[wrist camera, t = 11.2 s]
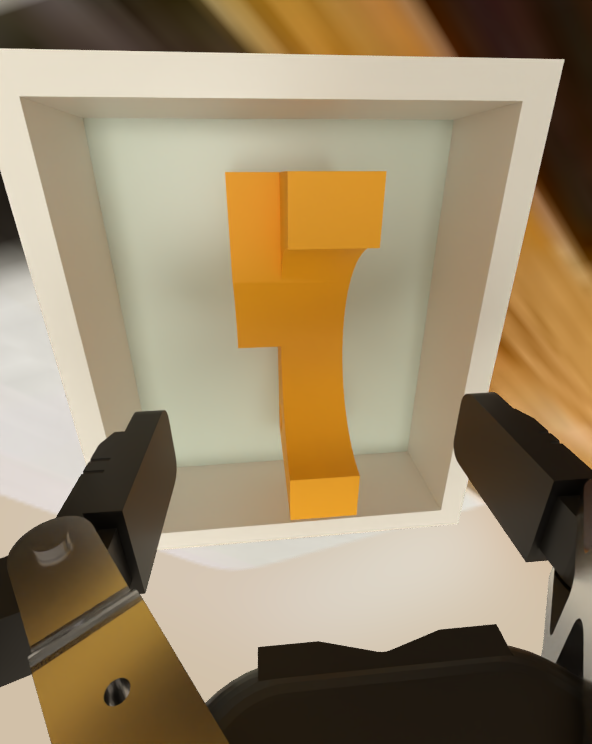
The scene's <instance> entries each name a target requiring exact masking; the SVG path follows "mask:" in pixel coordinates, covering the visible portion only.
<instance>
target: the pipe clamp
mask: <svg viewBox="0 0 592 744" xmlns="http://www.w3.org/2000/svg"><path fill="white" fill-rule="evenodd" d="M386 172H387V171H284V172H225V180H226V195H227V209H228V224H229V238H230V253H231V267H232V282H233V291H234V301H235V311H236V324H237V338H238V348H258V347H278V376H279V422H280V435H281V443H282V452H283V460H284V469H285V478H286V486H287V495H288V503H289V512H290V520H299V519H312V518H325V517H338V516H351V515H357V504H358V493H359V481H360V474H359V471H358V469H357V465H356V462H355V458H354V454H353V450H352V446H351V441H350V436H349V430H348V424H347V417H346V409H345V400H344V388H343V365H342V347H343V326H344V315H345V307H346V300H347V294H348V289H349V285H350V281H351V277H352V274H353V271H354V268H355V266H356V263H357V261H358V259H359V258H360V256H361V255H362V253H363V252H364V251H365V250H366V249H367V248H380V241H381V229H382V218H383V207H384V195H385V184H386Z"/></svg>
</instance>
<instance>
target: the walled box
mask: <svg viewBox="0 0 592 744" xmlns="http://www.w3.org/2000/svg"><path fill="white" fill-rule="evenodd" d="M563 63H564V59H518V58H466V57H413V56H361V55H309V54H257V53H204V52H152V51H100V50H47V49H0V171H1V174H2V178H3V181H4V185H5V188H6V192H7V195H8V198H9V202H10V205H11V209H12V212H13V216H14V219H15V222H16V226H17V229H18V233H19V236H20V240H21V243H22V246H23V250H24V253H25V257H26V260H27V264H28V267H29V270H30V274H31V277H32V281H33V284H34V288H35V291H36V294H37V298H38V301H39V305H40V308H41V312H42V315H43V318H44V322H45V325H46V329H47V332H48V336H49V339H50V342H51V346H52V349H53V353H54V356H55V360H56V363H57V366H58V370H59V373H60V377H61V380H62V384H63V387H64V390H65V394H66V397H67V401H68V404H69V408H70V411H71V414H72V418H73V421H74V425H75V428H76V432H77V435H78V438H79V442H80V445H81V449H82V452H83V456H84V459H85V462H86V466H87V464H88V462H90V459H91V457H92V455H93V454H94V452H95V450H96V449H97V447H98V445H99V444H100V443H101V442H103V441H104V440H105V439H106V438H108V437H109V436H110V435H111V434H112V433H114V432H121V431H125V430H126V428H127V426H128V424H129V422H130V420H131V418H132V416H133V414H134V413H135V412H138V411H156V410H165V411H166V412H167V414H168V417H169V422H170V428H171V433H172V439H173V444H174V450H175V455H176V463H177V473H176V481H175V485H174V488H173V492H172V496H171V500H170V503H169V507H168V511H167V514H166V518H165V522H164V526H163V529H162V533H161V537H160V540H159V544H158V548H157V550H166V549H178V548H190V547H201V546H213V545H224V544H236V543H247V542H259V541H271V540H282V539H294V538H305V537H317V536H328V535H340V534H351V533H363V532H375V531H386V530H398V529H408V528H420V527H432V526H444V525H455V524H458V522H459V517H460V513H461V509H462V504H463V500H464V496H465V491H466V487H467V483H468V477H467V475H466V474H465V473H464V471H463V470H462V468H461V467H460V465H459V464H458V462H457V460H456V457H455V454H454V446H453V443H454V436H455V431H456V425H457V420H458V415H459V410H460V404H461V400H462V398H463V396H464V395H465V394H470V393H488V391H489V387H490V382H491V378H492V373H493V369H494V365H495V360H496V356H497V352H498V347H499V343H500V339H501V334H502V330H503V325H504V321H505V317H506V312H507V308H508V304H509V299H510V295H511V291H512V286H513V282H514V277H515V273H516V269H517V264H518V260H519V256H520V251H521V247H522V242H523V238H524V234H525V229H526V225H527V221H528V216H529V212H530V208H531V203H532V199H533V194H534V190H535V186H536V181H537V177H538V173H539V168H540V164H541V160H542V155H543V151H544V146H545V142H546V138H547V133H548V129H549V125H550V120H551V116H552V112H553V107H554V103H555V98H556V94H557V90H558V85H559V81H560V77H561V72H562V68H563ZM284 171H387V172H386V184H385V195H384V207H383V218H382V229H381V241H380V248H367V249H366V250H365V251H364V252H363V253H362V255H361V256H360V258H359V259H358V261H357V263H356V266H355V268H354V271H353V274H352V277H351V281H350V285H349V289H348V294H347V300H346V307H345V315H344V326H343V347H342V365H343V388H344V400H345V409H346V417H347V424H348V430H349V436H350V441H351V446H352V450H353V454H354V458H355V462H356V465H357V469H358V471H359V474H360V481H359V493H358V504H357V515H351V516H338V517H325V518H312V519H299V520H290V512H289V503H288V495H287V486H286V478H285V469H284V460H283V452H282V443H281V435H280V422H279V376H278V347H258V348H238V338H237V324H236V311H235V301H234V291H233V282H232V267H231V253H230V238H229V224H228V209H227V195H226V180H225V172H284Z"/></svg>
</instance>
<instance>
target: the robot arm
mask: <svg viewBox="0 0 592 744" xmlns="http://www.w3.org/2000/svg"><path fill="white" fill-rule="evenodd" d="M453 446H454V454H455V457H456V460H457V462H458V464H459V465H460V467H461V468H462V470H463V471H464V473H465V474H466V475H467V477H468V478H469V480H470V481H471V483H472V484H473V486H474V487H475V489H476V490H477V491H478V493H479V494H480V496H481V497H482V499H483V500H484V502H485V503H486V505H487V506H488V507H489V509H490V510H491V512H492V513H493V515H494V516H495V517H496V519H497V520H498V522H499V523H500V525H501V526H502V528H503V529H504V531H505V532H506V534H507V535H508V536H509V538H510V539H511V541H512V542H513V544H514V545H515V547H516V548H517V550H518V551H519V552H520V554H521V555H522V557H523V558H524V560H525V561H526V562H534V561H546V560H548V561H549V562H550V563H551V565H552V566H553V568H552V571H551V573H550V576H549V584H548V595H547V606H546V618H545V630H544V640H543V650H542V655H541V656H539V655H536V654H534V653H531V652H529V651H526V650H522V649H519V648H515V647H512V646H507V644H506V642H505V640H504V638H503V636H502V634H501V632H500V631H499V628H498V627H497V625H496V624H494V625H483V626H473V627H463V628H452V629H443V630H438V631H435V632H433V633H430V634H428V635H426V636H423V637H421V638H419V639H416V640H414V641H412V642H409V643H407V644H404V645H402V646H400V647H397V648H395V649H393V650H390V651H387V652H376V651H370V650H364V649H359V648H353V647H347V646H341V645H336V644H330V643H324V642H319V641H318V642H307V643H297V644H286V645H276V646H265V647H258V668H257V669H255V670H252V671H250V672H248V673H245V674H244V675H242V676H240V677H238V678H237V679H235V680H233V681H231V682H230V683H229V684H228V685H226V686H225V687H223V688H222V689H220V690H219V691H218V692H217V693H216V694H215V695H213V696H212V697H211V698H210V699H209V700H208V701H207V702H206V703H205V702H204V701H203V699H202V697H201V696H200V694H199V692H198V691H197V689H196V687H195V685H194V684H193V682H192V680H191V679H190V677H189V675H188V674H187V672H186V670H185V669H184V667H183V665H182V664H181V662H180V660H179V659H178V657H177V656H176V654H175V652H174V650H173V649H172V647H171V645H170V644H169V642H168V640H167V638H166V637H165V635H164V634H163V632H162V630H161V628H160V627H159V625H158V624H157V622H156V620H155V618H154V617H153V615H152V613H151V612H150V610H149V608H148V607H147V605H146V603H145V602H144V600H143V598H142V597H141V595H140V594H144V593H145V592H146V589H147V585H148V581H149V578H150V574H151V570H152V566H153V563H154V559H155V555H156V552H157V548H158V544H159V540H160V537H161V533H162V529H163V526H164V522H165V518H166V514H167V511H168V507H169V503H170V500H171V496H172V492H173V488H174V485H175V481H176V473H177V463H176V455H175V450H174V444H173V439H172V433H171V428H170V422H169V417H168V414H167V412H166V411H165V410H156V411H138V412H135V413H134V414H133V416H132V418H131V420H130V422H129V424H128V426H127V428H126V430H125V431H121V432H114V433H112V434H111V435H110V436H109V437H108V438H106V439H105V440H104V441H103V442H101V443H100V444H99V445H98V447H97V449H96V450H95V452H94V454H93V455H92V457H91V459H90V462H88V464H87V466H86V467H85V469H84V471H83V474H81V476H80V477H79V479H78V481H77V483H76V484H75V486H74V488H73V489H72V491H71V493H70V495H69V496H68V498H67V500H66V501H65V503H64V505H63V506H62V508H61V510H60V512H59V513H58V515H57V517H56V518H55V519H52V520H49V521H47V522H44V523H42V524H40V525H38V526H36V527H34V528H33V529H31V530H30V531H28V532H27V533H26V534H25V535H23V536H22V537H21V538H20V539H19V540H18V541H17V542H16V544H15V545H14V546H13V547H12V549H11V550H10V552H9V555H8V556H6V557H4V558H0V687H1V686H4V685H7V684H9V683H11V682H14V681H16V680H19V679H21V678H24V677H26V676H29V675H31V674H32V677H33V680H34V684H35V687H36V691H37V694H38V698H39V701H40V705H41V709H42V712H43V716H44V719H45V723H46V726H47V730H48V734H49V737H50V741H51V744H592V470H591V469H590V468H589V467H588V466H587V465H586V464H585V463H584V462H582V461H581V460H580V459H579V458H578V457H577V456H576V455H575V454H573V453H572V452H571V451H570V450H569V449H568V448H567V447H566V446H564V445H563V444H560V443H559V440H558V439H557V438H556V437H554V436H553V435H552V434H551V433H548V430H547V429H545V428H544V427H543V426H542V425H541V424H540V423H539V422H538V421H536V420H535V419H534V418H532V417H530V416H528V415H526V414H524V413H522V412H521V411H519V410H517V409H513V408H512V407H511V406H510V405H509V404H508V403H507V402H506V401H504V400H503V399H502V398H501V397H500V396H499V395H498V394H497V393H495V392H488V393H470V394H465V395H464V396H463V398H462V400H461V404H460V410H459V415H458V420H457V425H456V431H455V436H454V443H453Z"/></svg>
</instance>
